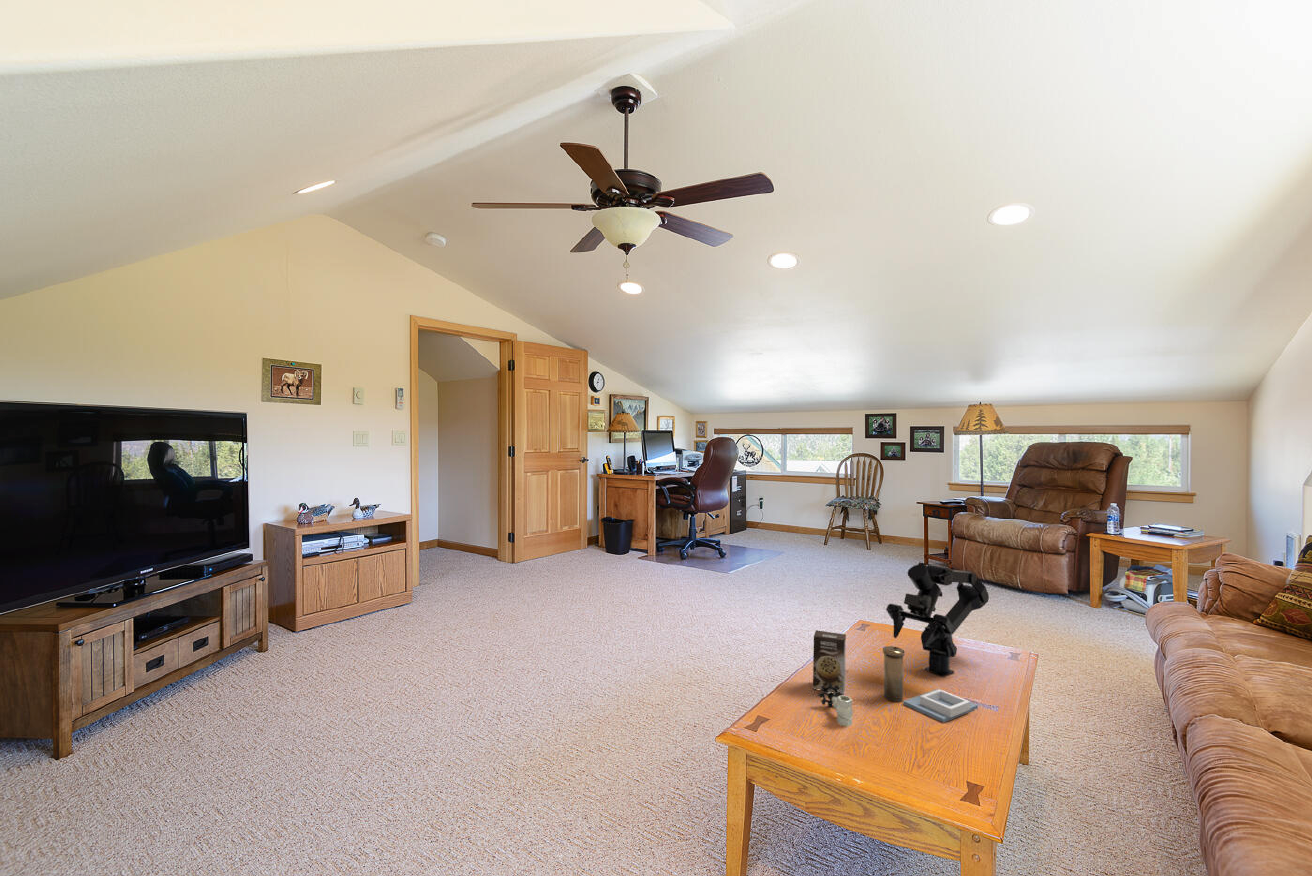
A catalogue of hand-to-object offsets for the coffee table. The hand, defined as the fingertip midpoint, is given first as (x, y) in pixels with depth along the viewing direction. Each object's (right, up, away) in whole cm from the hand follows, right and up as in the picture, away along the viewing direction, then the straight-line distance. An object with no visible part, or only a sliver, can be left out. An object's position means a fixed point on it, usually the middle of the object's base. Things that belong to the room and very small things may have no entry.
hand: (909, 641), depth 172 cm
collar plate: (+3, -14, -13) cm, 19 cm away
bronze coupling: (-8, -14, -8) cm, 18 cm away
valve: (-28, -14, -19) cm, 36 cm away
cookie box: (-25, -14, -2) cm, 28 cm away
